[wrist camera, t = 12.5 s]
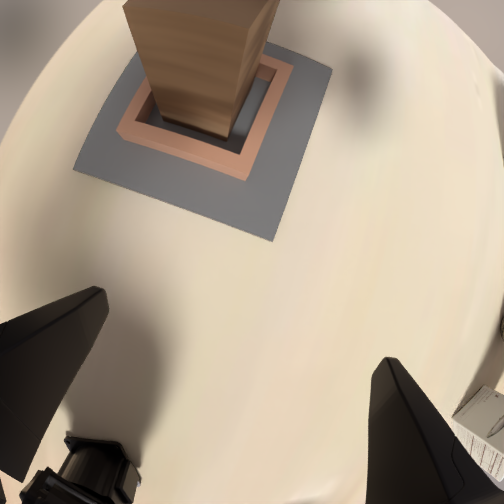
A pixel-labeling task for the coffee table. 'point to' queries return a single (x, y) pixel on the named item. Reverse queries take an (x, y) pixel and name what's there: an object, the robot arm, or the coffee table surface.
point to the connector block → (200, 57)
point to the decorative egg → (502, 329)
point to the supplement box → (483, 430)
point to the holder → (212, 145)
